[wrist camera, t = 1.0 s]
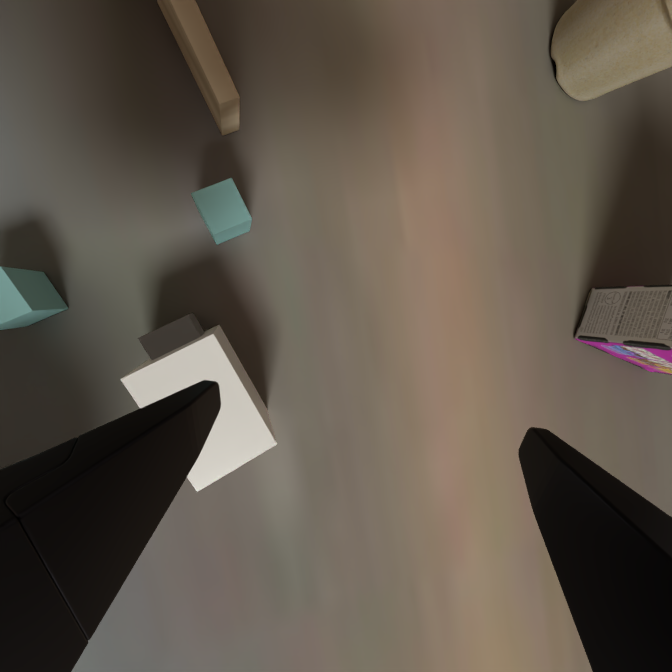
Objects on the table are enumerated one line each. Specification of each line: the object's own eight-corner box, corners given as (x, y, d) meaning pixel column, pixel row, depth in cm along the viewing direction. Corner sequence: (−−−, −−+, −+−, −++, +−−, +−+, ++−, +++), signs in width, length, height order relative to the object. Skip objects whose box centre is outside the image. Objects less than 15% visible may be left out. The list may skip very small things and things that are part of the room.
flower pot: (620, 130, 26) (798, 53, 18) (530, 122, 23) (692, 26, 15) (626, -2, 24) (823, -153, 16) (531, -27, 22) (710, -223, 13)
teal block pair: (26, 326, 16) (-21, 332, 13) (-1, 289, 15) (-56, 287, 12) (249, 230, 18) (251, 218, 15) (232, 196, 18) (231, 177, 15)
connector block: (207, 443, 19) (197, 491, 14) (139, 338, 17) (102, 353, 13) (267, 408, 20) (277, 444, 15) (208, 305, 18) (198, 308, 13)
